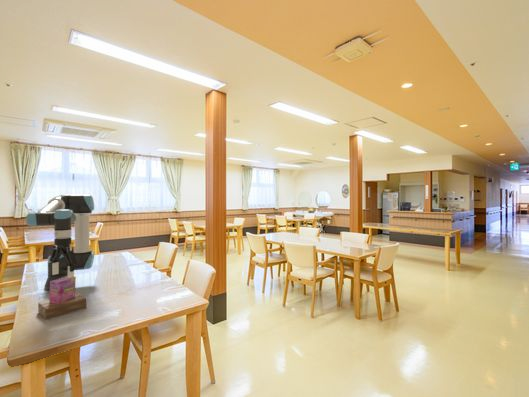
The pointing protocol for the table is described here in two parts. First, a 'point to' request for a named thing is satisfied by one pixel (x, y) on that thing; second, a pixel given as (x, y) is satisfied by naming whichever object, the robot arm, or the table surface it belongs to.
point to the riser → (61, 307)
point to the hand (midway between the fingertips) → (63, 275)
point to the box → (62, 289)
